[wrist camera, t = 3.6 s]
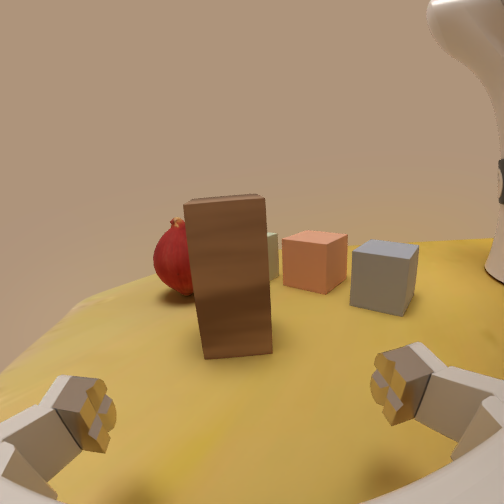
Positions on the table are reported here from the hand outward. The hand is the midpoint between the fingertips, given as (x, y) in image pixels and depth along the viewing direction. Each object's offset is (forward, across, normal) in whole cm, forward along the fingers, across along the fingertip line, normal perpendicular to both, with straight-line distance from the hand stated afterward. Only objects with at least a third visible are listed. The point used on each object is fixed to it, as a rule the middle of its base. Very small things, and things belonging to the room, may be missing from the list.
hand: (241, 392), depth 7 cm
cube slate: (+15, -14, +6) cm, 21 cm away
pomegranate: (+21, +5, +6) cm, 22 cm away
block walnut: (+12, 0, +6) cm, 13 cm away
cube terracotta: (+22, -9, +6) cm, 24 cm away
